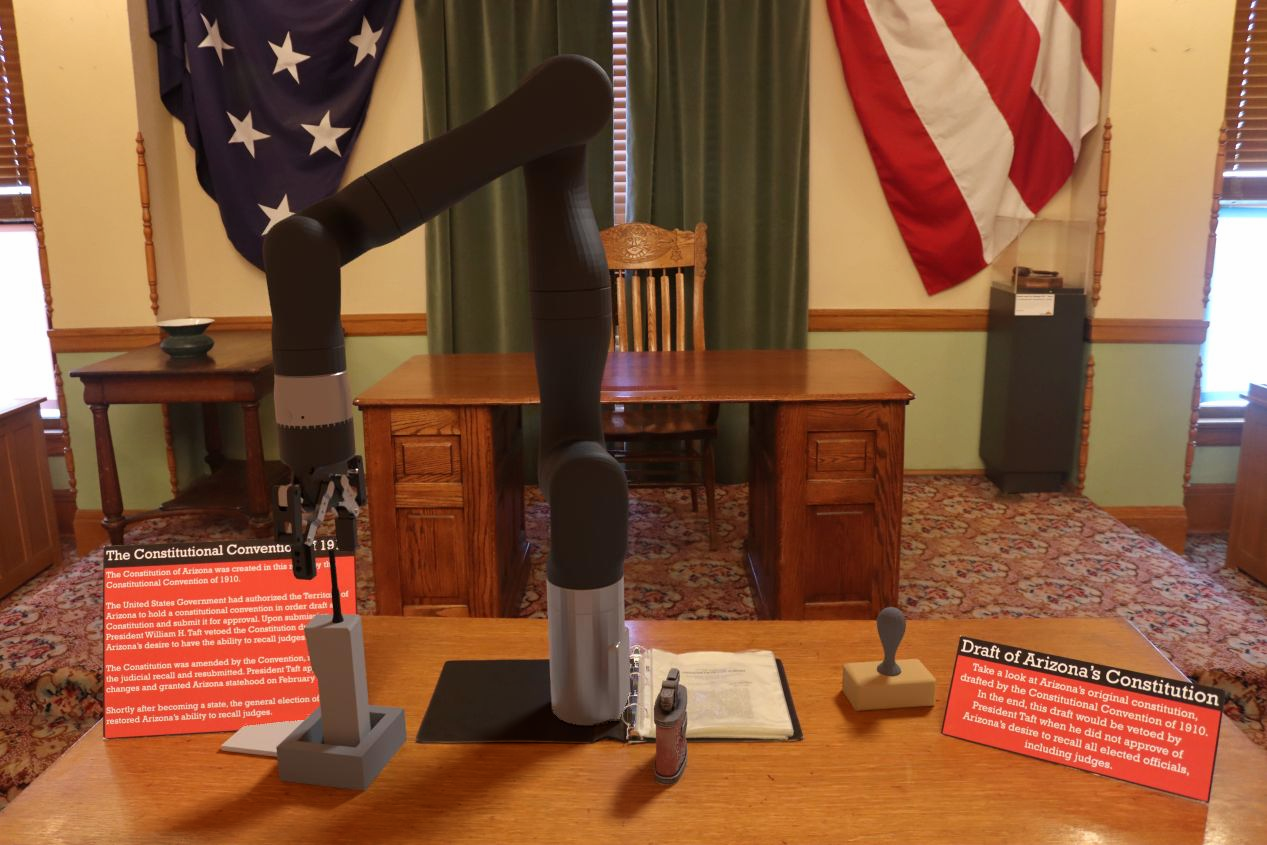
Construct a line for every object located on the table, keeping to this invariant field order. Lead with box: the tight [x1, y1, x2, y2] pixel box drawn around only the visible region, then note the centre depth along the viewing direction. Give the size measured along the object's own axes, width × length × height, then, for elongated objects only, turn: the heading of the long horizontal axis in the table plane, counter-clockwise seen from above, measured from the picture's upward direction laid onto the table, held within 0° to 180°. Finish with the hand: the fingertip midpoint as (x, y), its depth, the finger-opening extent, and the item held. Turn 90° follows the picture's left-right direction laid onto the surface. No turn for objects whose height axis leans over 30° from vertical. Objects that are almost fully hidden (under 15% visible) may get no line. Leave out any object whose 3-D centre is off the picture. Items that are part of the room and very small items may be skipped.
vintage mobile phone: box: [303, 548, 371, 748], centre depth 101 cm, size 4×5×25 cm
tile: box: [220, 720, 304, 758], centre depth 109 cm, size 8×8×1 cm
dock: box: [276, 704, 408, 792], centre depth 103 cm, size 10×10×4 cm
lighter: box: [653, 667, 689, 786], centre depth 101 cm, size 8×3×10 cm, turn 168°
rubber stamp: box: [841, 606, 937, 712], centre depth 114 cm, size 10×6×12 cm, turn 96°
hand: (327, 563), depth 99 cm, fingers open, 8 cm apart
